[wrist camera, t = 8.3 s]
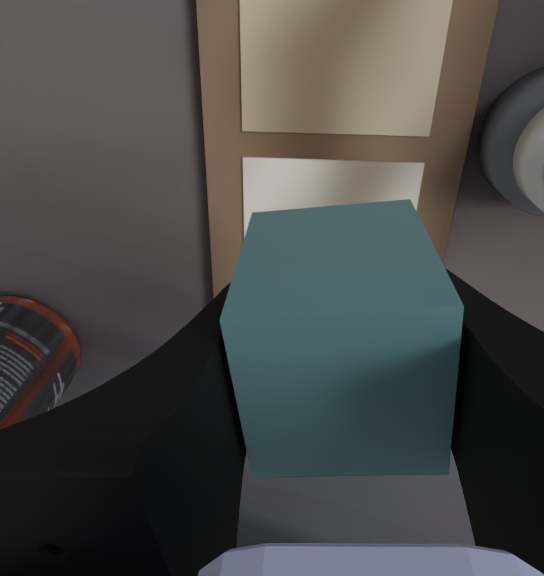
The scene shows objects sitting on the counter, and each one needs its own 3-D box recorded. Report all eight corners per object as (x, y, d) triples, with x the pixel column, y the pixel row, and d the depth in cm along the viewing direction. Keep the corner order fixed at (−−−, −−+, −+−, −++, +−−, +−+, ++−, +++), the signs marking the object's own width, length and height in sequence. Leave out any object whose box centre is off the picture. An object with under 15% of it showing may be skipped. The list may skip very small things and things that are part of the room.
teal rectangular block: (407, 330, 14) (448, 474, 10) (270, 337, 14) (252, 477, 10) (409, 199, 12) (464, 306, 8) (252, 212, 12) (219, 320, 8)
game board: (628, -641, 10) (646, -676, 10) (425, 328, 23) (427, 335, 22) (164, -609, 11) (157, -640, 10) (217, 317, 23) (214, 324, 23)
